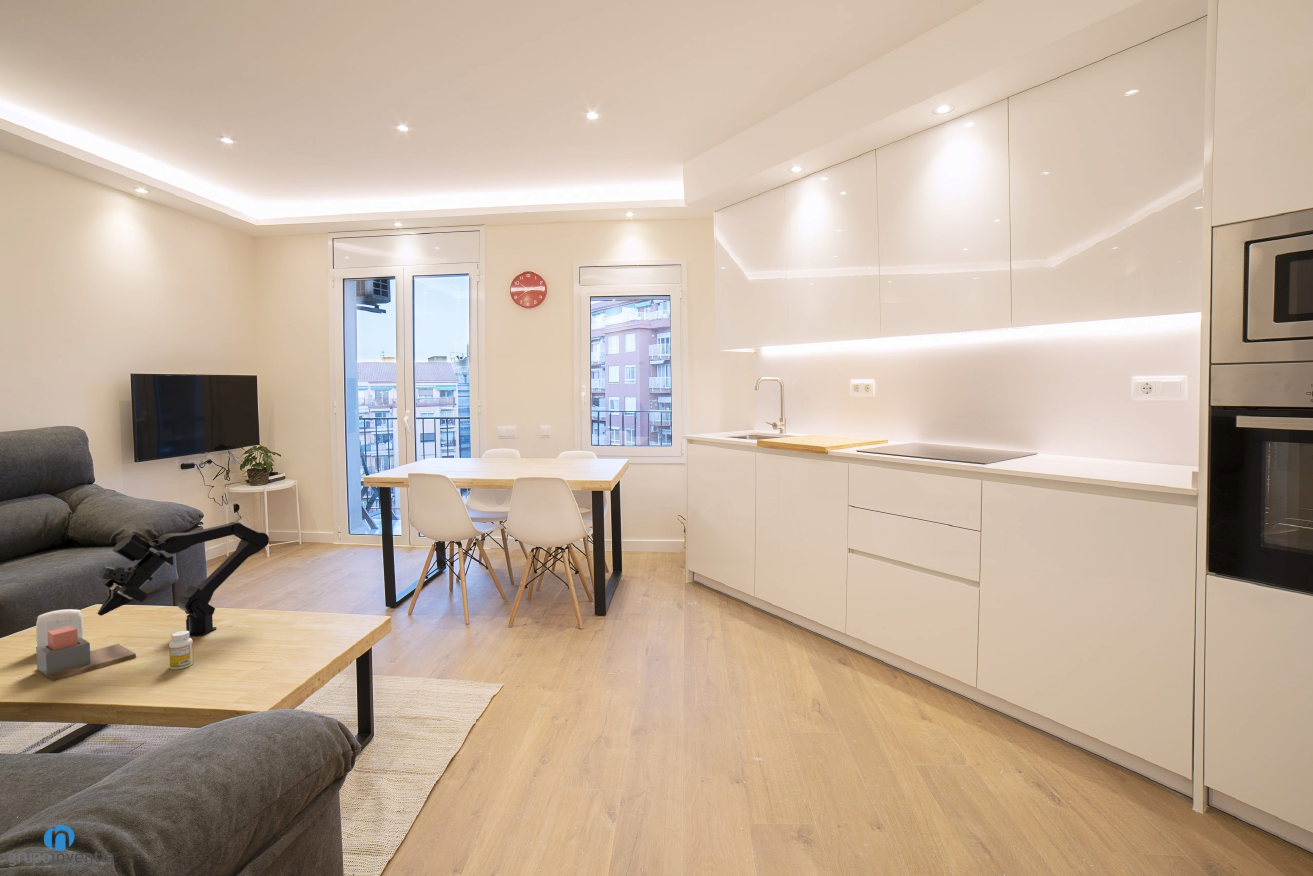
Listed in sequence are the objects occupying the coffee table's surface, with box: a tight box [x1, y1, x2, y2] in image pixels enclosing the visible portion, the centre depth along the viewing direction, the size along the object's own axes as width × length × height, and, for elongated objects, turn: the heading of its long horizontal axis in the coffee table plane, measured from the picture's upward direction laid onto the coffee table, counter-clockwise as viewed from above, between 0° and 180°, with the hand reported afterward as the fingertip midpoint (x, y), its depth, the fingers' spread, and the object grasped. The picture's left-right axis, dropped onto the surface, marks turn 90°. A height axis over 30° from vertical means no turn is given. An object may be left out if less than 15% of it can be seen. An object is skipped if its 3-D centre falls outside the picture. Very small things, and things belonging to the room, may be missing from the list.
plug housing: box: [35, 637, 91, 675], centre depth 169 cm, size 9×9×6 cm
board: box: [36, 643, 137, 682], centre depth 173 cm, size 18×14×1 cm
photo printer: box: [35, 608, 84, 647], centre depth 182 cm, size 10×4×12 cm, turn 123°
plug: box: [47, 626, 78, 651], centre depth 168 cm, size 5×5×6 cm
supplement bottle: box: [168, 630, 194, 670], centre depth 171 cm, size 5×5×10 cm
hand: (99, 614), depth 175 cm, fingers closed
